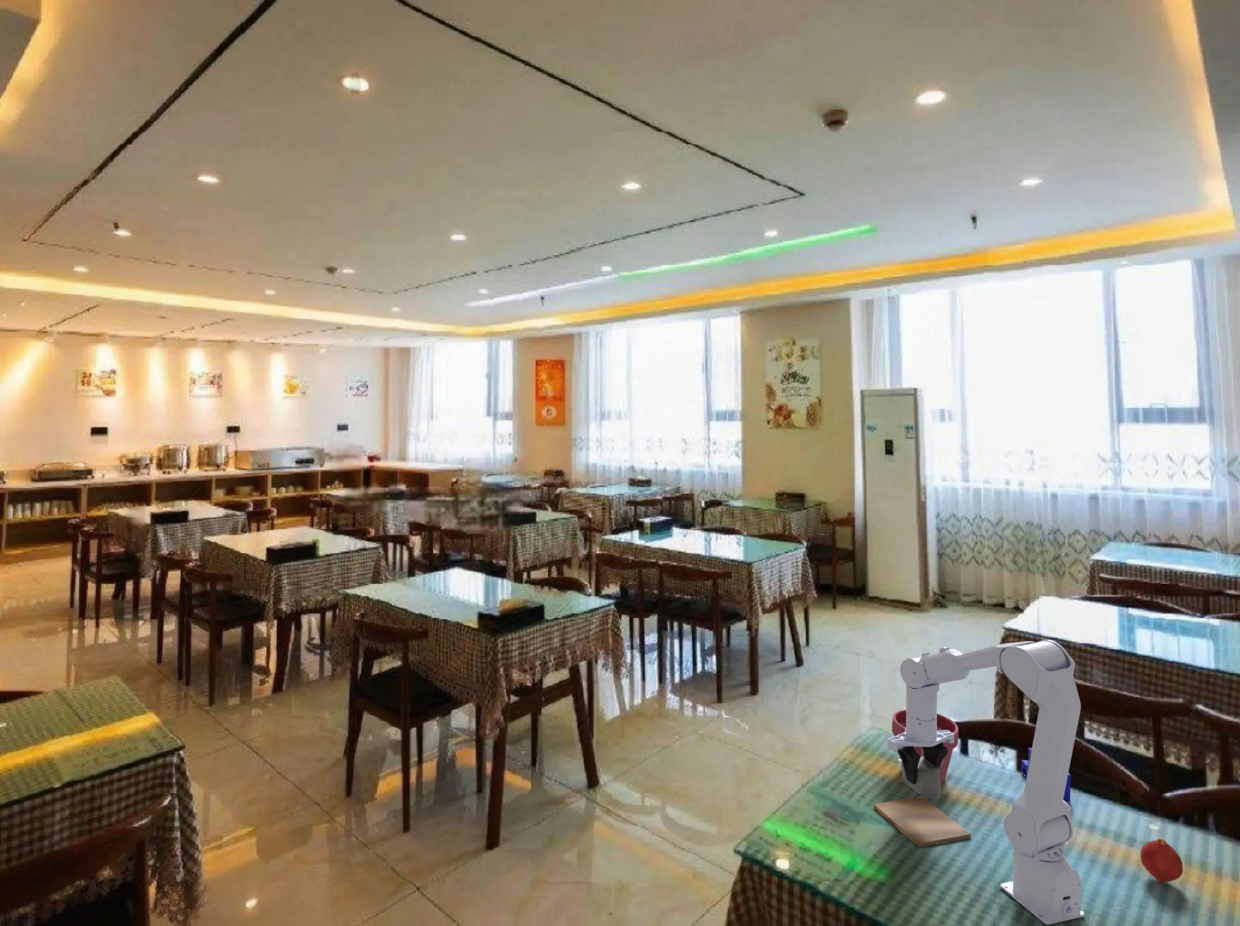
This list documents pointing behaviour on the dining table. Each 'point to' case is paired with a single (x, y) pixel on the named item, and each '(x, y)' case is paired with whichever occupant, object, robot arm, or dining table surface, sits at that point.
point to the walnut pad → (921, 821)
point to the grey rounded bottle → (924, 779)
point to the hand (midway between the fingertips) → (920, 779)
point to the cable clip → (1025, 770)
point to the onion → (1161, 860)
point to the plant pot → (942, 724)
